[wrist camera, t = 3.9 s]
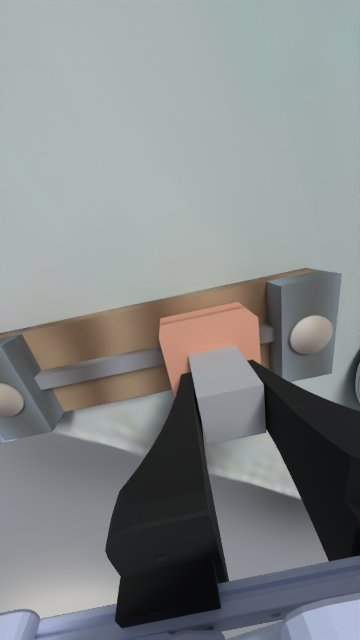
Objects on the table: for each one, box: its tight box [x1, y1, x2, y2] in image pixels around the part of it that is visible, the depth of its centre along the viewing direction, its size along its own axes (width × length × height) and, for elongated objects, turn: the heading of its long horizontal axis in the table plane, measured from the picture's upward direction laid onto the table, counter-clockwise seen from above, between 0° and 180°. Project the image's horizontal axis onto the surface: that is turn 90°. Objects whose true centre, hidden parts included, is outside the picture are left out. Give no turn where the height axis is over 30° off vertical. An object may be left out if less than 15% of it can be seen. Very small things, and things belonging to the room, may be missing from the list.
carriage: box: [159, 302, 266, 445], centre depth 12 cm, size 6×6×7 cm
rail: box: [0, 268, 341, 441], centre depth 16 cm, size 27×8×4 cm, turn 101°
